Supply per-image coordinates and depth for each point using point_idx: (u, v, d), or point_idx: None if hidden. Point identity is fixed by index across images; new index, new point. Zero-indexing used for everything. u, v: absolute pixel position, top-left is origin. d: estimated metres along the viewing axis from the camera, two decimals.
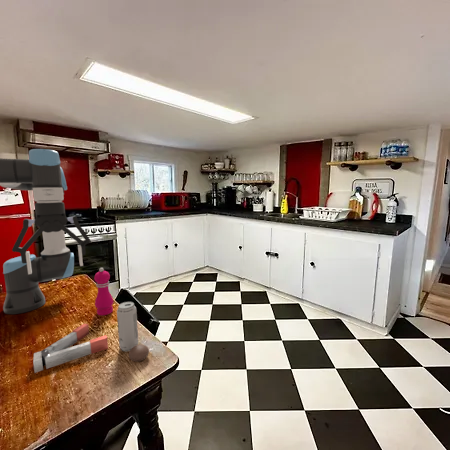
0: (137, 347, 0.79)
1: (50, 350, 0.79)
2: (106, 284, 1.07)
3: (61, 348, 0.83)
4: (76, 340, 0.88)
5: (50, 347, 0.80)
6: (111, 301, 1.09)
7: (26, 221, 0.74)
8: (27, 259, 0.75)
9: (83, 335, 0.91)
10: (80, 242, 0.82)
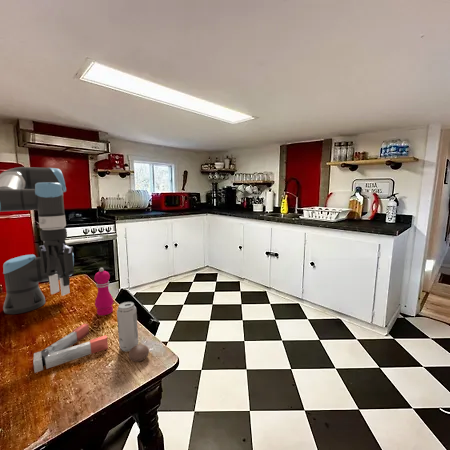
0: (137, 347, 0.79)
1: (50, 350, 0.79)
2: (106, 284, 1.07)
3: (61, 348, 0.83)
4: (76, 340, 0.88)
5: (50, 347, 0.80)
6: (111, 301, 1.09)
7: (39, 247, 0.88)
8: (50, 281, 0.88)
9: (83, 335, 0.91)
10: (61, 273, 0.86)
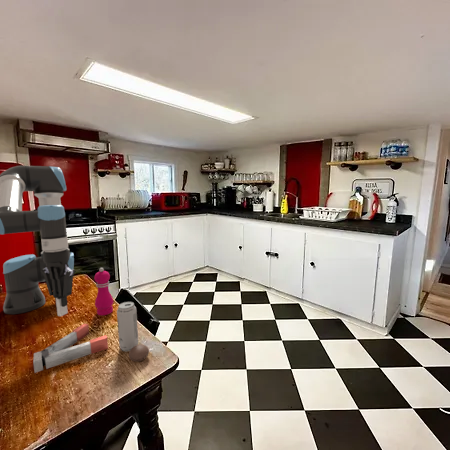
0: (137, 347, 0.79)
1: (50, 350, 0.79)
2: (106, 284, 1.07)
3: (61, 348, 0.83)
4: (76, 340, 0.88)
5: (50, 347, 0.80)
6: (111, 301, 1.09)
7: (42, 270, 0.89)
8: (56, 303, 0.88)
9: (83, 335, 0.91)
10: (59, 294, 0.88)
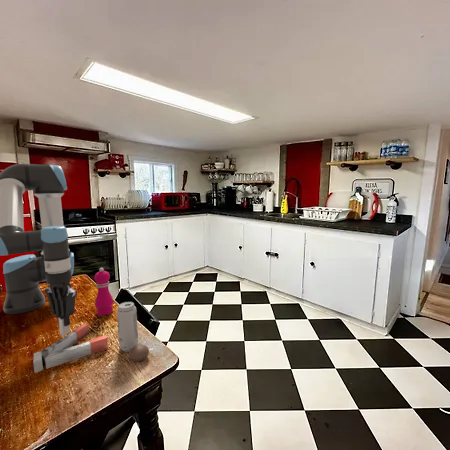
0: (137, 347, 0.79)
1: (50, 350, 0.79)
2: (106, 284, 1.07)
3: (61, 348, 0.83)
4: (76, 340, 0.88)
5: (50, 347, 0.80)
6: (111, 301, 1.09)
7: (45, 290, 0.90)
8: (59, 323, 0.90)
9: (83, 335, 0.91)
10: (62, 314, 0.89)
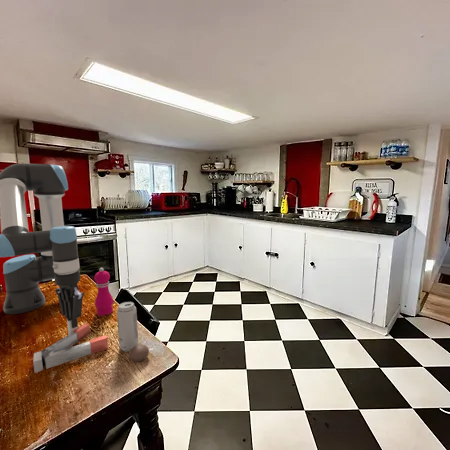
0: (137, 347, 0.79)
1: (50, 350, 0.79)
2: (106, 284, 1.07)
3: (61, 348, 0.83)
4: (77, 340, 0.88)
5: (50, 347, 0.80)
6: (111, 301, 1.09)
7: (56, 290, 0.89)
8: (67, 324, 0.88)
9: (84, 335, 0.91)
10: (70, 316, 0.87)
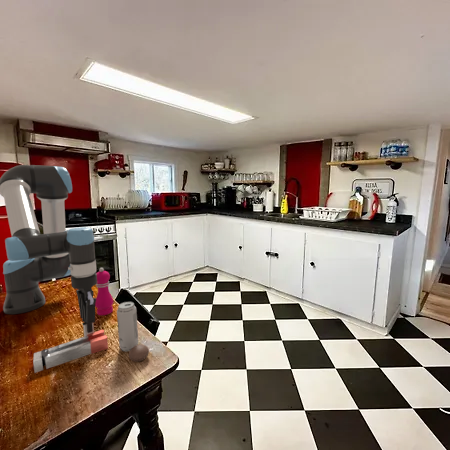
0: (137, 347, 0.79)
1: (54, 351, 0.79)
2: (106, 284, 1.07)
3: None
4: None
5: (55, 347, 0.80)
6: (111, 301, 1.09)
7: (76, 291, 0.88)
8: None
9: None
10: (84, 320, 0.85)
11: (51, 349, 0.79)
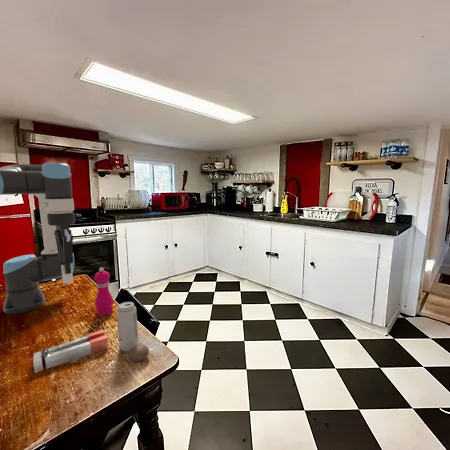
0: (137, 347, 0.79)
1: (54, 351, 0.79)
2: (106, 284, 1.07)
3: None
4: None
5: (55, 347, 0.80)
6: (111, 301, 1.09)
7: (54, 233, 0.86)
8: (61, 269, 0.84)
9: None
10: (62, 260, 0.82)
11: (51, 349, 0.79)
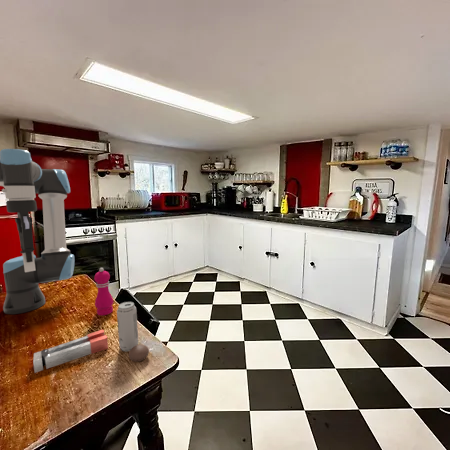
0: (137, 347, 0.79)
1: (54, 351, 0.79)
2: (106, 284, 1.07)
3: None
4: None
5: (55, 347, 0.80)
6: (111, 301, 1.09)
7: None
8: (23, 258, 0.83)
9: None
10: (23, 248, 0.81)
11: (51, 349, 0.79)
